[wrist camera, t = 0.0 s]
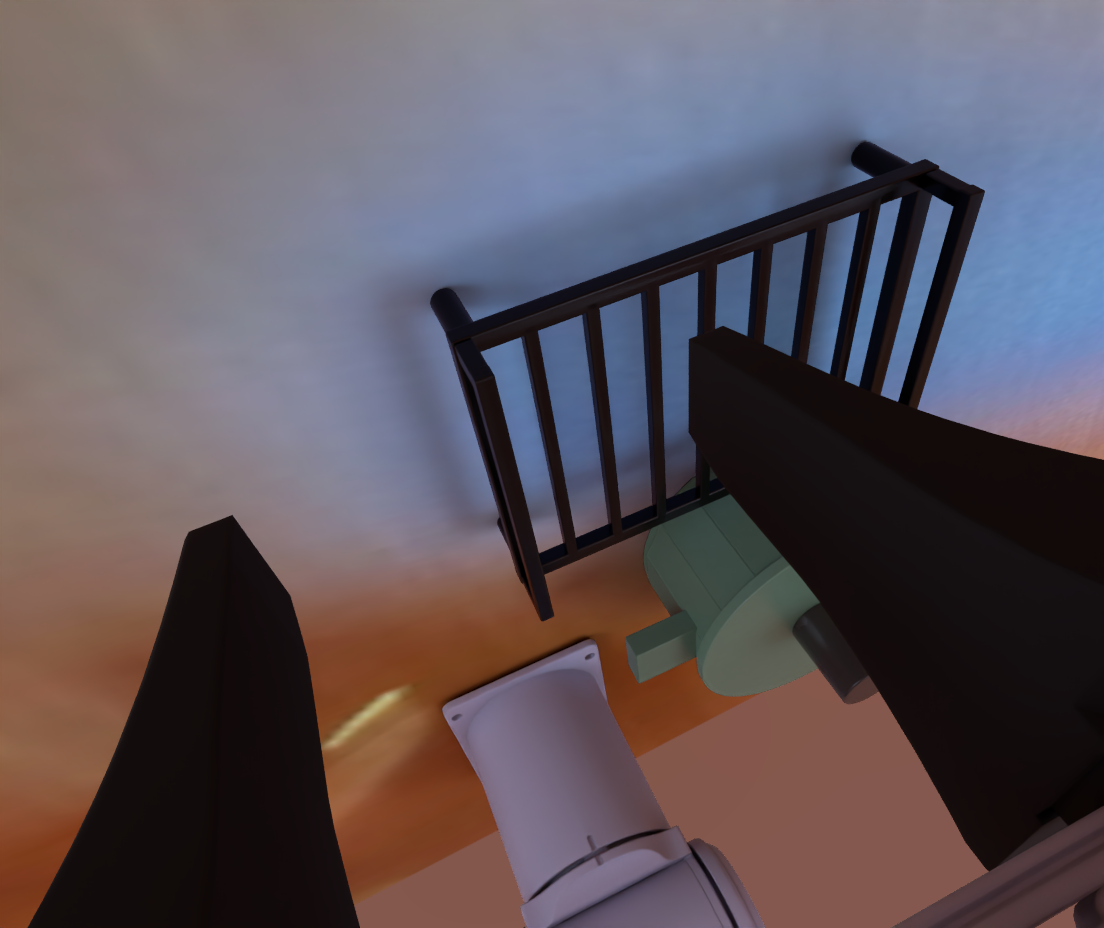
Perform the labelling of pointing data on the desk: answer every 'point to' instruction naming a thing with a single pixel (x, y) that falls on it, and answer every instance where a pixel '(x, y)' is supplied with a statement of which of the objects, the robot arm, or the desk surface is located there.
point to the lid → (778, 641)
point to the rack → (701, 257)
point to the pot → (695, 579)
